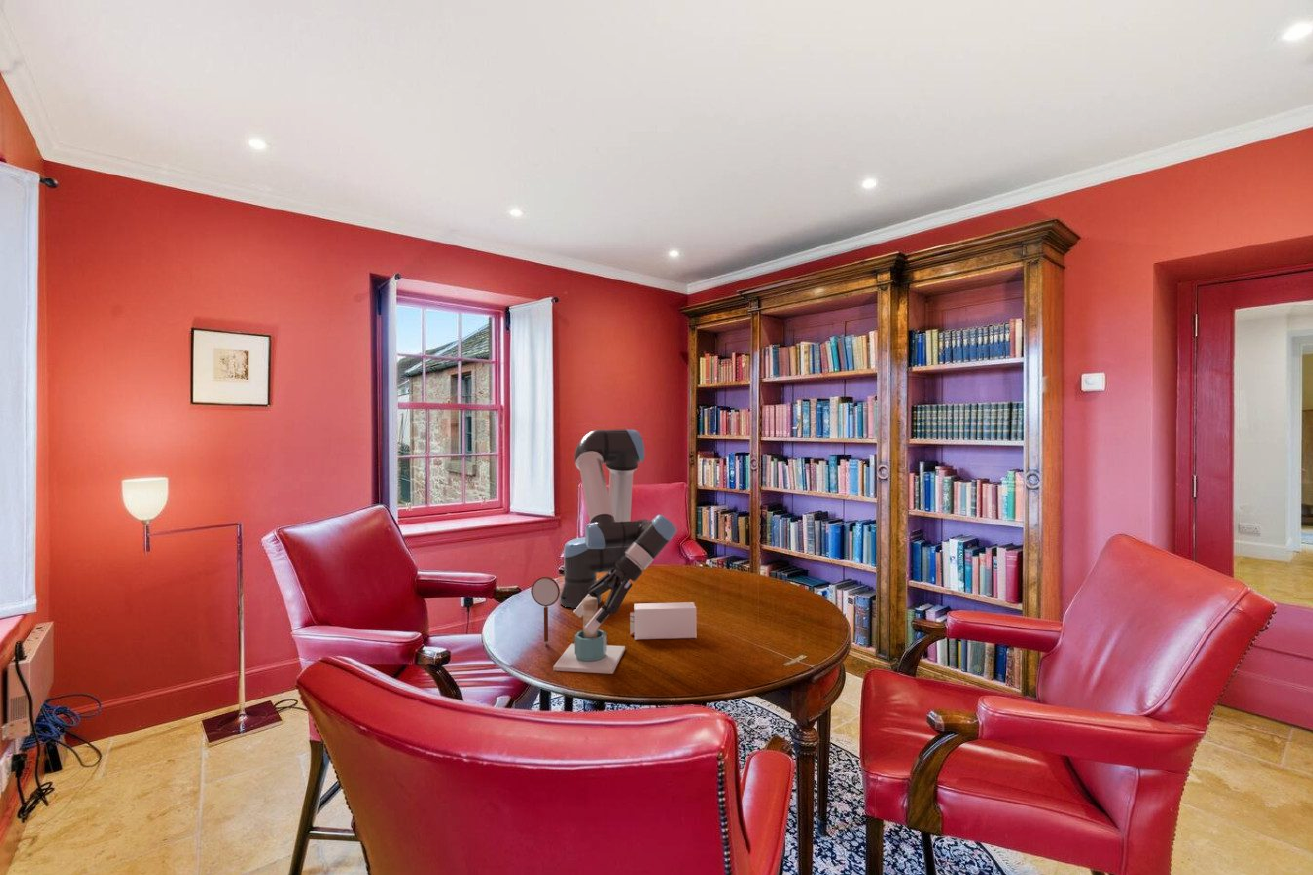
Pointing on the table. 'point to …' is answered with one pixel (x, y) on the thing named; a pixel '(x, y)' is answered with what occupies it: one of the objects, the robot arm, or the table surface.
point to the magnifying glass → (545, 597)
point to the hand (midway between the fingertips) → (582, 622)
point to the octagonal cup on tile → (590, 655)
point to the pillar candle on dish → (589, 615)
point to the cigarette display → (664, 620)
